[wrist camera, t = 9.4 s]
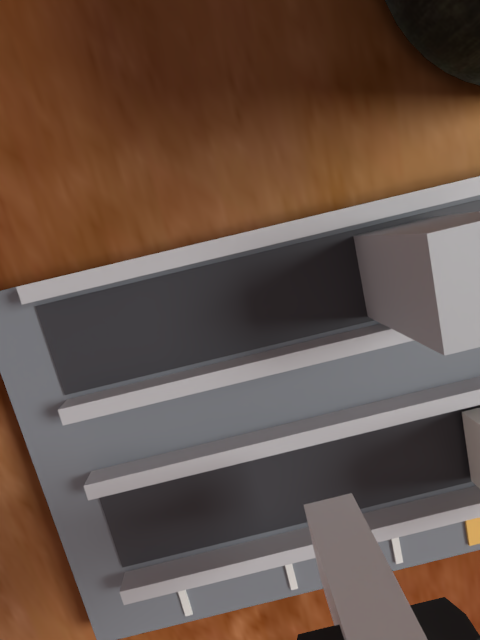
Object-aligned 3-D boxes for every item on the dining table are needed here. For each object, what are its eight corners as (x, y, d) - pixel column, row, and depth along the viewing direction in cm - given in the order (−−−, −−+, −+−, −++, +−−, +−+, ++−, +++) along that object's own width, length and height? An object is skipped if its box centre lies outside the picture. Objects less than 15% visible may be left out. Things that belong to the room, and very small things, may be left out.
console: (-10, 293, 16) (-169, 330, 9) (553, 158, 16) (786, 101, 10) (105, 618, 19) (45, 824, 12) (582, 501, 19) (777, 640, 13)
